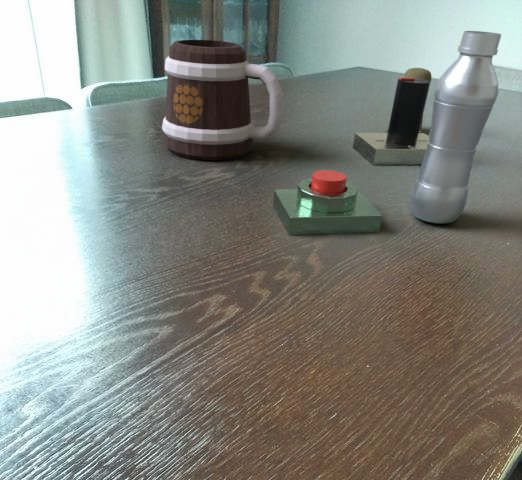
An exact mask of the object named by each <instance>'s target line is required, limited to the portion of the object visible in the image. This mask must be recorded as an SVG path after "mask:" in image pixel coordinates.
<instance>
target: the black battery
mask: <svg viewBox="0 0 522 480" xmlns="http://www.w3.org/2000/svg"><path fill="white" fill-rule="evenodd" d="M430 85H431V83H430V81H428V80H425V79H419V78H407V77H404V78H403V77H401V76H400V77H398V79H397V83H396V87H395V93H394V98H393V103H392V108H391V113H390V118H389V124H388V129H387V132H386V133H387V140H388V141H391V142H394V143H398V144H414V143H416V142H417V138H418V134H419V129H420V125H421V121H422V116H423V117H424V112H425V107H426V103H427V99H428V94H429V90H430ZM422 122H423V121H422Z"/></svg>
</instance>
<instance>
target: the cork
mask: <svg viewBox="0 0 522 480" xmlns="http://www.w3.org/2000/svg"><path fill="white" fill-rule="evenodd" d="M404 77H407V78H419V79H425V80H428V81H430V84H431V82H432V72H431V71H430V70H429V69H426V68H422V67H412V68H408V69H407V70H406V71H405V72H404V74H403V78H404ZM423 119H424V115H423V116H422V121H421V125H420V129H419V131H421V132H419V133H422V129H423V122H424V121H423Z"/></svg>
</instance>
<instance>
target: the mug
mask: <svg viewBox="0 0 522 480" xmlns="http://www.w3.org/2000/svg"><path fill="white" fill-rule="evenodd" d="M168 52H169V54H168V56H167V57H166V58H165V61H164V71H165V72H166V73H167V80H166V81H167V82H166V103H165V106H166V107H165V117H164V118H163V119H162V126H161V130H162V132H163V133H164V134H163V135H164V137H163V144H164V146H165V147H166V148H167V149H168V150H169V151H170V152H171V153H172V154H174V155H177V156H179V157H183V158H187V159H191V160H200V161H201V160H202V161H223V160H224V161H225V160H231V159H237V158H241V157H243V156H245V155H247V154H248V153H249V152H250V151H251V149H252V148H253V147H254V141H253V140H258V141H260V140H261V141H262V140H267V139H269V138H270V137H271V136H273V135H274V134H276V133H277V132H278V131H279V128H280V125H281V122H282V118H283V101H284V99H283V97H284V96H283V89H282V87H281V84H280V82H279V79H278V76H276V74H275V73H274V72H273V71H272V70H271V69H270V67H268V66H265V65H260V64H255V63H250V62H249V61H248V60H247V53H246V49H244V47H243V46H242V45H241V44H239V43H236V42H232V41H223V40H213V39H179V40H175V41H173V42H172V44H171V45H170V46H169V51H168ZM249 79H252V80H260V81H261V82H262V83H263V84H264V85H265V88H266V90H267V92H268V95H269V113H268V114H269V115H268V120H267V123H266V124H265V125H264V126H255V125H254V121H253V120H252V119H251V116H252V115H251V102H250V87H249V86H250V85H249Z"/></svg>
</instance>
